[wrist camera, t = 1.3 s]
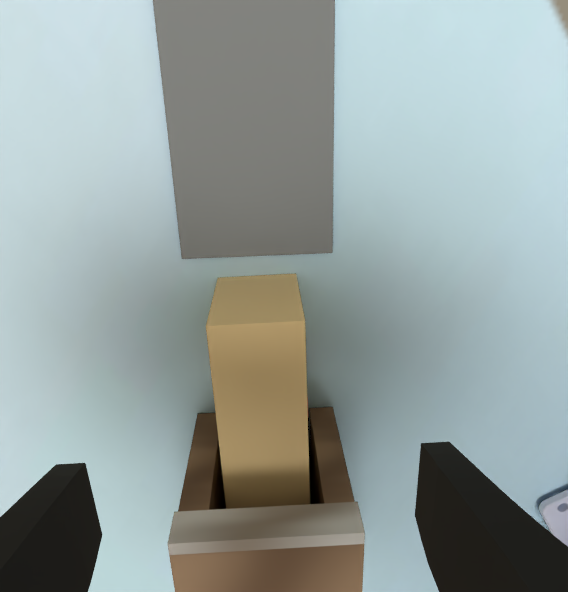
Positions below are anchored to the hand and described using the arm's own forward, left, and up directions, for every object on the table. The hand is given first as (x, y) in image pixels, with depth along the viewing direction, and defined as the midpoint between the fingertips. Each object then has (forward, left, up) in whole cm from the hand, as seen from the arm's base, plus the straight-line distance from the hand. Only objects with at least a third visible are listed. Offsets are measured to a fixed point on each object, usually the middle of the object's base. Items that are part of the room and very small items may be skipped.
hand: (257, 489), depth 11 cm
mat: (-4, -6, -9) cm, 12 cm away
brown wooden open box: (+4, +8, -9) cm, 13 cm away
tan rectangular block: (+2, +4, -10) cm, 11 cm away
